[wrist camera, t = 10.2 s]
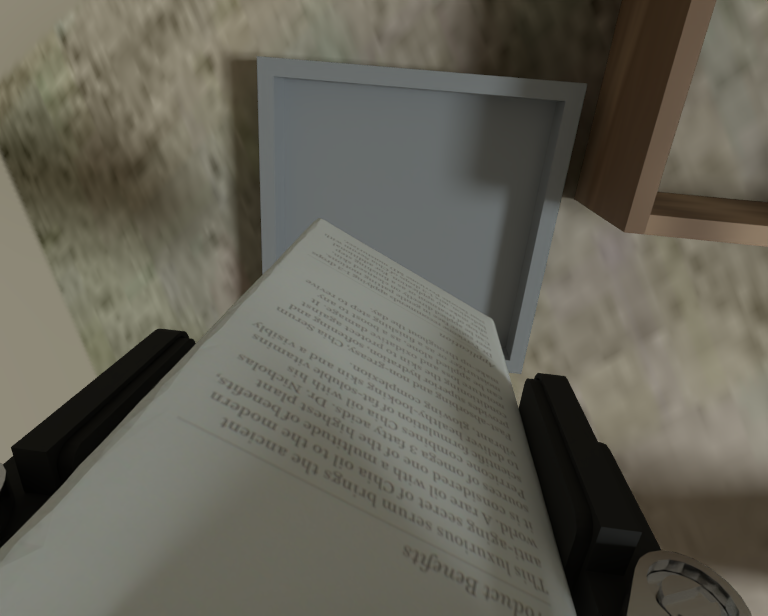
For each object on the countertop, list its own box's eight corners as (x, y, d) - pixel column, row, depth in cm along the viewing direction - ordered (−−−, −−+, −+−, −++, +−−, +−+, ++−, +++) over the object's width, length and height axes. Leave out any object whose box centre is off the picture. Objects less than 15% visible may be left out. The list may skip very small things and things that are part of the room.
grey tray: (573, 85, 24) (587, 83, 22) (514, 353, 30) (521, 373, 28) (273, 60, 25) (256, 56, 23) (276, 325, 31) (264, 343, 29)
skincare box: (258, 329, 15) (-262, 991, 4) (319, 212, 13) (-291, 784, 2) (423, 420, 15) (399, 1196, 4) (501, 320, 14) (769, 1163, 3)
